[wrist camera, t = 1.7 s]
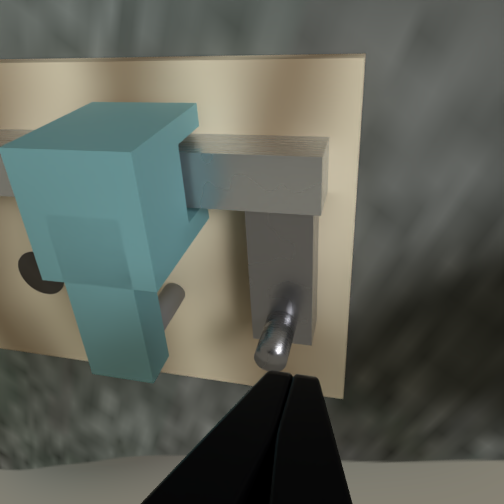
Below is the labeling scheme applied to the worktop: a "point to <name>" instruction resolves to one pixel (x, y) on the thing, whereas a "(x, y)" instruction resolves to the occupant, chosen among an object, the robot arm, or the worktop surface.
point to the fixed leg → (282, 283)
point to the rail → (242, 172)
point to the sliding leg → (110, 223)
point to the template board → (220, 221)
